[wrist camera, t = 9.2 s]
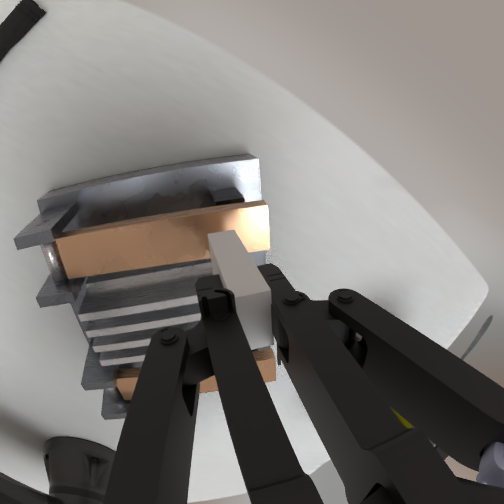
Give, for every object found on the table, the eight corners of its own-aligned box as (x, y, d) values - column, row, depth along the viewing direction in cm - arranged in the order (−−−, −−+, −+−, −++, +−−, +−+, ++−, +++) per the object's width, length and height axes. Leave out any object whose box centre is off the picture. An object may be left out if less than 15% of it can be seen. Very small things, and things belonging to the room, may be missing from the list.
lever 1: (73, 270, 20) (68, 279, 19) (61, 232, 18) (55, 239, 17) (266, 241, 21) (270, 249, 20) (263, 200, 20) (267, 205, 19)
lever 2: (125, 390, 25) (124, 399, 24) (114, 369, 24) (112, 378, 23) (272, 371, 27) (276, 380, 26) (271, 348, 26) (275, 357, 25)
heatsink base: (110, 362, 31) (103, 425, 24) (49, 191, 23) (3, 226, 15) (263, 335, 35) (288, 394, 27) (249, 153, 26) (285, 173, 18)
